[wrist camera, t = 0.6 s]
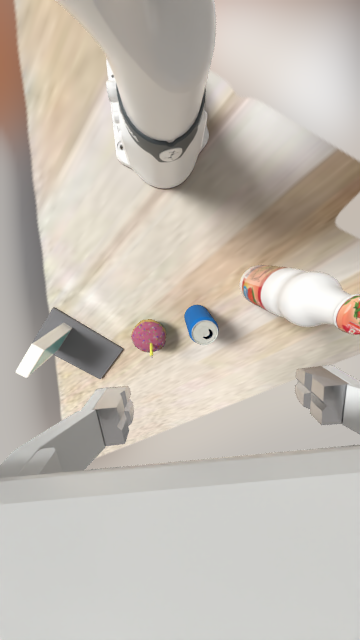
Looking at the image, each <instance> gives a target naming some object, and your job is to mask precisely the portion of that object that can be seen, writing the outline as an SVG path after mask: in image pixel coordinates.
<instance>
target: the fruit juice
mask: <svg viewBox="0 0 360 640" xmlns="http://www.w3.org/2000/svg"><path fill="white" fill-rule="evenodd" d="M239 288H240V292H241V294H242V295H243V297H244V298H245V299H247V300H249V301H250V302H252V303H254V304H256V305H258V306H260V307H261V308H263V309H265V310H267V311H269V312H270V313H272V314H275V315H277V316H280V317H285V318H286V319H287V320H288V321H289V322H291V323H293V324H295V325H298V326H302V327H314V326H318V325H322V324H333V325H335V326H336V327H337V328H338V329H340V330H342V331H344V332H346V333H350V334H360V294H356V295H351V294H348V293H347V292H345V291H343V289H342V287H341V285H340V283H339V282H338V280H337V279H335V278H334V277H333V276H331V275H329V274H327V273H323V272H318V271H310V272H306V271H304V270H300V269H296V268H287V267H277V266H267V265H256V266H253V267H251V268H249V269H248V270H246V271H245V272H244V274H243V275H242V277H241V279H240V283H239Z"/></svg>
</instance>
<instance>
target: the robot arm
mask: <svg viewBox="0 0 360 640" xmlns="http://www.w3.org/2000/svg"><path fill="white" fill-rule="evenodd" d="M55 1H56V2H57V3H58V4H59V5H60V6H62V7H63V8H64V9H65V10H66V11H67V12H68V13H69V14H70V15H71V16H72V17H73V18H74V19H75V20H76V21H78V22H79V24H80V25H81V26H82V27H83V28H84V29H85V30H86V31H87V32H88V33H89V34H90V35H91V37H92V38H93V39H94V40H95V41H96V43H97V44H98V45H99V46H100V48H101V49H102V50H103V52H104V54H105V55H106V57H107V72H108V81H106V87H107V93H108V97H109V101H110V102H111V109H112V118H113V127H114V137H115V146H116V154H117V158H118V160H119V162H120V163H122V164H123V165H125V166H127V167H129V168H131V169H133V170H134V171H135V172H136V173H137V174H138V175H139V177H140V178H141V179H142V180H144V181H145V182H146V183H148V184H150V185H151V186H154V187H157V188H172V187H175V186H177V185H179V184H181V183H182V182H183V181H184V180H185V179H186V178H187V177H188V176H189V175H190V173H191V172H192V170H193V168H194V166H195V163H196V160H197V157H198V155H199V153H200V152H201V150H202V149H203V148H204V147H205V145H206V144H207V142H208V138H209V133H208V129H207V126H206V122H207V112H206V111H205V109H204V103H205V92H206V89H205V86H206V82H207V78H208V73H209V69H210V65H211V60H212V56H213V52H214V46H215V36H216V14H215V4H214V0H55ZM122 146H123V150H121V149H120V148H121V147H122ZM296 379H297V380H298V383H297V384H296V385H295V393H296V396H297V398H298V400H299V402H300V403H301V404H302V405H303V406H304V407H306V408H308V409H310V414H311V415H312V416H313V417H314V418H315V419H316V420H317V421H318V422H319V423H320V424H321V425H329V424H343V425H344V426H346V427H348V428H350V429H351V430H353V431H355V432H357V433H358V434H360V381H359V380H357V379H356V378H354V377H352V376H351V375H349V374H347V373H345V372H344V371H342V370H340V369H338V368H337V367H335V366H333V365H325V366H318V367H310V368H302V369H297V371H296ZM130 395H131V392H130V388H129V387H128V386H123V387H110V388H100V389H96V390H95V392H94V393H93V395H92V396H91V397H90V399H89V400H88V401H87V403H86V404H85V405H84V407H83V408H82V409H81V411H77V412H75V413H74V414H72V415H70V416H69V417H67V418H66V419H64V420H62V421H61V422H59V423H58V424H56V425H54V426H53V427H51V428H49V429H48V430H46V431H44V432H43V433H41V434H40V435H38V436H37V437H35V438H33V439H32V440H30V441H28V442H27V443H25V444H24V445H22V446H20V447H19V448H17V449H15V450H14V451H13V452H12V453H11V454H10V455H9V456H8V457H7V458H6V460H4V462H3V463H2V464H1V465H0V640H360V445H352V446H341V447H330V448H320V449H309V450H298V451H287V452H277V453H266V454H256V455H245V456H233V457H222V458H213V459H201V460H190V461H179V462H168V463H158V464H146V465H135V466H126V467H115V468H103V469H92V470H84V469H86V468H87V466H88V465H89V464H90V463H91V462H92V461H93V460H94V459H95V458H96V457H97V456H98V455H99V453H100V452H101V451H102V450H103V449H104V448H105V446H111V445H119V444H125V442H126V439H127V435H128V432H129V428H128V426H129V425H130V424H131V423H132V420H133V414H134V407H133V402H132V401H131V400H130V399H129V398H130Z"/></svg>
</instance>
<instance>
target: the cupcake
mask: <svg viewBox="0 0 360 640" xmlns="http://www.w3.org/2000/svg"><path fill="white" fill-rule="evenodd" d="M131 337H132V341H133V343H134V345H135V346H136V347H137V348H138V349H140V350H142V351H144V352H150V356H151V358H152V356H153V352H154V351H157V350H160V349H161V348H162V347H164V344H165V342H166V341H165V339H166V331H165V329H164V328H163V326H162V325H161V324H160V323H159V322H157V321H154V320H152V319H148V320H142V321H140V322H139V323H138V324H137V325H136V326H135V328H134V329H133V331H132V335H131Z"/></svg>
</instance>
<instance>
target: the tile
mask: <svg viewBox="0 0 360 640" xmlns="http://www.w3.org/2000/svg"><path fill="white" fill-rule="evenodd" d="M71 329H72V327H70V326H69V325H67V324H65V323H62V324H61V325H59V326H58V327H56V328H55V329H53V330H52V331H50V332H49V333H47V334H46V335H44V336H43V337H41V338H40V339H38V340H37V341H35V342H34V343H32V345H31V346H30V348H29V350H28V351H27V353H26V355H25V356H24V358H23V360H22V361H21V363H20V365H19V366H18V368H17V370H16V371H15V372H16V373H18V374H20V375H22V376H24V377H26V378H27V377H28V376H29V375H31V374H32V372H34V371H35V370H36V369H37V368H38V367H40V366H41V365H42V364H43V363H44V362H45V361H46V360H47V359H49V358H50V357H51V356H52V355H53V354H54V353H55V352H57V351H58V350H59V348H60V346H61V345H62V343H63V342H64V340H65V339H66V337H67V336H68V334H69V332H70V331H71Z"/></svg>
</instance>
